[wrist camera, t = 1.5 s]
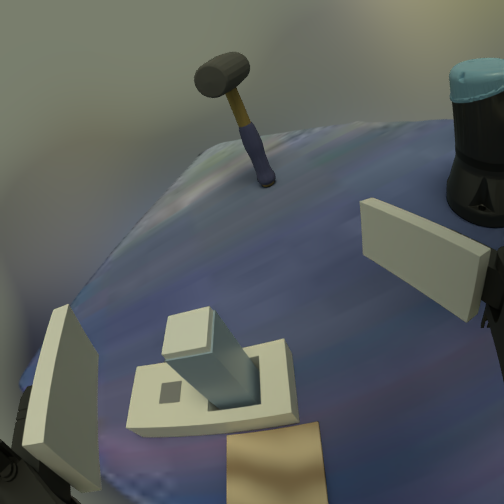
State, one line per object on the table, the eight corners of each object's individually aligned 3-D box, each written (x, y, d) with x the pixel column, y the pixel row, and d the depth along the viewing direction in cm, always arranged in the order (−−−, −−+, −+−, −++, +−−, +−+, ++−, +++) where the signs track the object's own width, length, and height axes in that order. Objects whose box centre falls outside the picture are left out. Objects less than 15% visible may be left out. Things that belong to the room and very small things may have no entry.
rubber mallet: (261, 171, 76) (213, 56, 57) (291, 167, 72) (245, 45, 54) (244, 202, 68) (184, 70, 49) (277, 198, 64) (219, 56, 46)
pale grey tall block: (227, 382, 37) (167, 315, 28) (262, 376, 36) (211, 304, 28) (227, 415, 33) (159, 356, 25) (264, 410, 33) (207, 347, 24)
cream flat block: (161, 324, 49) (149, 310, 47) (284, 293, 45) (276, 275, 43) (143, 437, 34) (125, 427, 32) (299, 422, 30) (291, 411, 28)
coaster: (229, 436, 31) (226, 435, 31) (318, 423, 29) (317, 421, 29) (229, 519, 24) (226, 519, 23) (329, 511, 22) (328, 511, 21)
